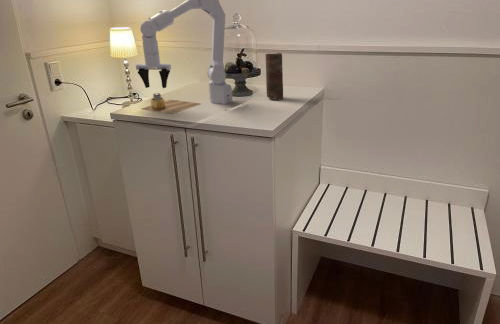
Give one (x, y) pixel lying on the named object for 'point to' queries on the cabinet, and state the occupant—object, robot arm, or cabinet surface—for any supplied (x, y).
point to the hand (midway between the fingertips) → (156, 87)
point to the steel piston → (157, 96)
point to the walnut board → (173, 106)
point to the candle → (274, 76)
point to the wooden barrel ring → (157, 103)
